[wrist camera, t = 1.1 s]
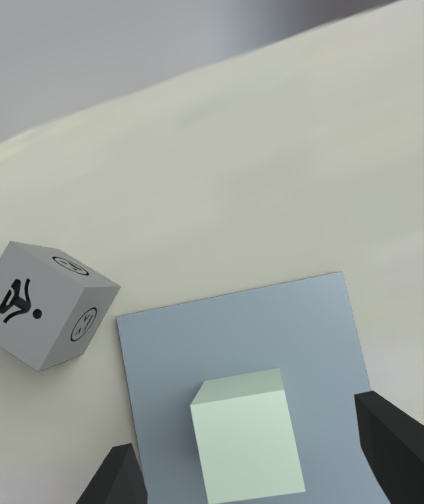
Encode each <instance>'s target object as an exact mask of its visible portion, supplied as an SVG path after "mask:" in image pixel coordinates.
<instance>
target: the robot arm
mask: <svg viewBox="0 0 424 504" xmlns="http://www.w3.org/2000/svg"><path fill="white" fill-rule="evenodd" d="M354 399H355V407H356V415H357V422H358V430H359V438H360V445H361V449H362V451H363V453H364V455H365V457H366V460H367V462H368V464H369V466H370V468H371V470H372V472H373V474H374V476H375V478H376V480H377V482H378V484H379V485H380V487H381V489H382V490H383V492H384V493H385V495H386V497H387V498H388V500H389V502H390V503H391V504H424V425H422V424H421V423H419V422H418V421H416V420H415V419H413V418H412V417H410V416H409V415H407V414H406V413H404V412H403V411H402V410H400V409H399V408H397V407H396V406H394V405H393V404H392V403H390V402H389V401H387V400H386V399H385V398H383V397H382V396H380V395H379V394H377V393H376V392H374V391H368V392H363V393H359V394H354ZM147 502H148V493H147V490H146V487H145V483H144V480H143V477H142V474H141V471H140V468H139V465H138V462H137V459H136V456H135V453H134V450H133V447H132V444H131V443H130V444H125V445H121V446H116V447H112V449H111V450H110V452H109V453H108V455H107V456H106V458H105V460H104V461H103V463H102V464H101V466H100V467H99V469H98V471H97V472H96V474H95V475H94V477H93V478H92V480H91V481H90V483H89V485H88V486H87V488H86V489H85V491H84V492H83V494H82V495H81V497H80V498H79V500H78V501H77V503H76V504H147Z"/></svg>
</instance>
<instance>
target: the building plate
mask: <svg viewBox="0 0 424 504" xmlns="http://www.w3.org/2000/svg"><path fill="white" fill-rule="evenodd" d="M116 318H117V324H118V330H119V336H120V342H121V348H122V353H123V359H124V365H125V371H126V377H127V383H128V389H129V395H130V401H131V406H132V412H133V418H134V424H135V430H136V436H137V442H138V448H139V454H140V460H141V465H142V471H143V477H144V483H145V487H146V490H147V493H148V504H208V499H207V494H206V488H205V483H204V478H203V472H202V467H201V461H200V456H199V451H198V445H197V440H196V435H195V429H194V424H193V419H192V413H191V408H190V405H191V403H192V401H193V400H194V398H195V396H196V395H197V393H198V391H199V390H200V388H201V386H202V384H203V383H204V381H207V380H212V379H218V378H224V377H230V376H235V375H241V374H247V373H252V372H258V371H264V370H270V369H275V368H280V373H281V377H282V382H283V387H284V391H285V396H286V401H287V405H288V410H289V415H290V419H291V424H292V428H293V433H294V438H295V442H296V447H297V452H298V457H299V461H300V466H301V471H302V476H303V480H304V485H305V490H306V492H299V493H291V494H284V495H277V496H269V497H262V498H254V499H247V500H239V501H232V502H225V503H217V504H391V503H390V502H389V500H388V498H387V497H386V495H385V493H384V492H383V490H382V489H381V487H380V485H379V484H378V482H377V480H376V478H375V476H374V474H373V472H372V470H371V468H370V466H369V464H368V462H367V460H366V457H365V455H364V453H363V451H362V449H361V445H360V438H359V430H358V422H357V415H356V407H355V399H354V394H359V393H363V392H368V391H371V387H370V383H369V379H368V374H367V370H366V366H365V362H364V358H363V354H362V350H361V345H360V341H359V337H358V333H357V329H356V325H355V321H354V316H353V312H352V308H351V304H350V300H349V296H348V291H347V287H346V283H345V279H344V275H343V271H342V272H336V273H331V274H326V275H321V276H316V277H311V278H306V279H302V280H297V281H292V282H287V283H282V284H277V285H272V286H267V287H262V288H257V289H252V290H247V291H242V292H237V293H232V294H227V295H222V296H217V297H212V298H207V299H202V300H197V301H192V302H187V303H182V304H177V305H172V306H167V307H162V308H157V309H152V310H147V311H142V312H137V313H132V314H127V315H122V316H118V317H116Z"/></svg>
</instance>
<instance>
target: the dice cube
mask: <svg viewBox="0 0 424 504" xmlns="http://www.w3.org/2000/svg"><path fill="white" fill-rule="evenodd" d="M120 287H121V286H120V285H118V284H116V283H114V282H113V281H111V280H109V279H108V278H106V277H104V276H103V275H101V274H99V273H98V272H96V271H94V270H93V269H91V268H89V267H88V266H86V265H84V264H83V263H81V262H79V261H78V260H76V259H74V258H73V257H71V256H69V255H68V254H66V253H64V252H63V251H61V250H59V249H53V248H47V247H42V246H36V245H30V244H24V243H18V242H12V241H10V242H9V244H8V246H7V248H6V249H5V251H4V253H3V255H2V256H1V258H0V347H1V348H3V349H4V350H6V351H7V352H9V353H10V354H12V355H13V356H15V357H16V358H18V359H19V360H21V361H22V362H24V363H25V364H27V365H28V366H30V367H31V368H33V369H34V370H36V371H37V372H39V371H42V370H44V369H47V368H49V367H52V366H54V365H57V364H59V363H62V362H64V361H67V360H69V359H72V358H75V357H77V356H80V355H82V354H84V352H85V350H86V348H87V346H88V345H89V343H90V341H91V339H92V337H93V336H94V334H95V332H96V330H97V328H98V327H99V325H100V323H101V321H102V319H103V318H104V316H105V314H106V312H107V311H108V309H109V307H110V305H111V303H112V302H113V300H114V298H115V296H116V294H117V293H118V291H119V289H120Z"/></svg>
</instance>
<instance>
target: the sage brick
mask: <svg viewBox="0 0 424 504" xmlns="http://www.w3.org/2000/svg"><path fill="white" fill-rule="evenodd" d="M190 408H191V413H192V419H193V424H194V429H195V435H196V440H197V445H198V451H199V456H200V461H201V467H202V472H203V478H204V483H205V488H206V494H207V499H208V504H217V503H225V502H232V501H239V500H247V499H254V498H262V497H269V496H277V495H284V494H291V493H299V492H306V490H305V485H304V480H303V476H302V471H301V466H300V461H299V457H298V452H297V447H296V442H295V438H294V433H293V428H292V424H291V419H290V415H289V410H288V405H287V401H286V396H285V391H284V387H283V382H282V377H281V373H280V368H275V369H270V370H264V371H258V372H252V373H247V374H241V375H235V376H230V377H224V378H218V379H212V380H207V381H204V383H203V384H202V386H201V388H200V390H199V391H198V393H197V395H196V396H195V398H194V400H193V401H192V403H191V405H190Z"/></svg>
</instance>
